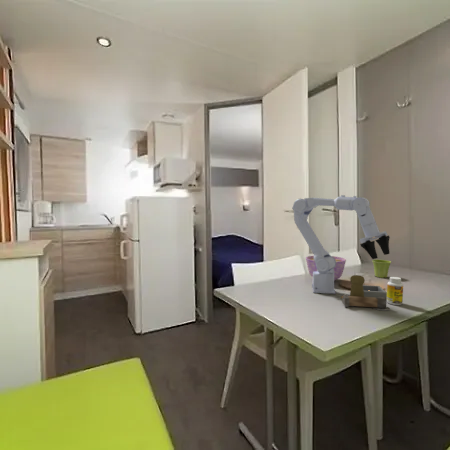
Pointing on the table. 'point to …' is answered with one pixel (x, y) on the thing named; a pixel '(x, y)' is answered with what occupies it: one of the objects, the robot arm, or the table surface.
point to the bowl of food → (337, 270)
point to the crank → (364, 301)
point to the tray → (374, 291)
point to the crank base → (382, 309)
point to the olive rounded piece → (357, 286)
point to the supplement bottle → (395, 291)
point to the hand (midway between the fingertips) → (381, 256)
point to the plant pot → (381, 268)
